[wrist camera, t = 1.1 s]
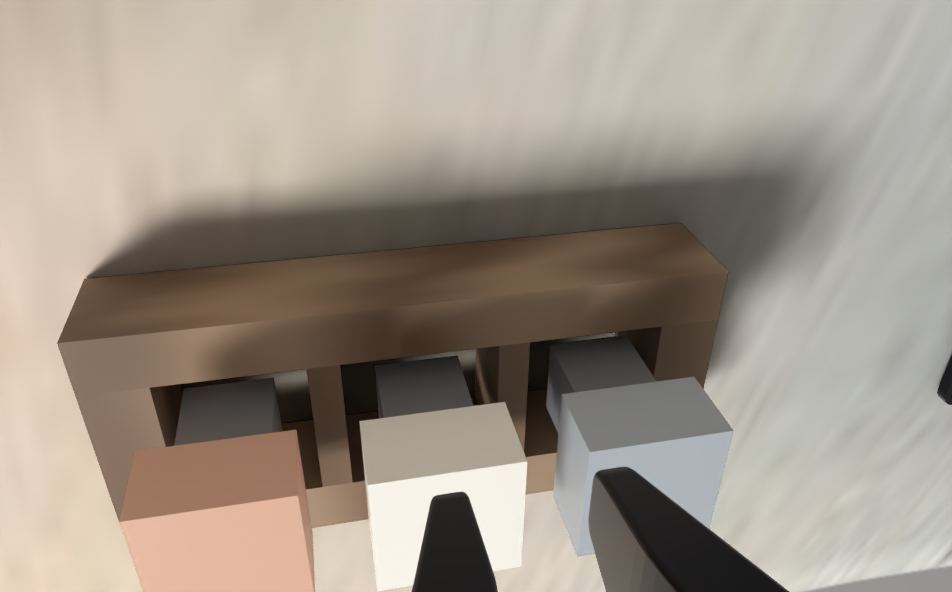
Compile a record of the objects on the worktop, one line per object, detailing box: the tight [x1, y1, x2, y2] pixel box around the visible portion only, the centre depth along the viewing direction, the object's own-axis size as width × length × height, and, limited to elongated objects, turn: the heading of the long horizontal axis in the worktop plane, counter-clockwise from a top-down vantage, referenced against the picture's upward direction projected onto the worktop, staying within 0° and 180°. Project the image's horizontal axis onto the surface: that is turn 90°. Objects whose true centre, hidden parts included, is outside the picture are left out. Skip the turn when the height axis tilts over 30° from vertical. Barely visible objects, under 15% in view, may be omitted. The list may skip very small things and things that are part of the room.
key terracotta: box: [119, 378, 315, 592], centre depth 18 cm, size 3×3×5 cm
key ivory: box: [359, 356, 527, 591], centre depth 19 cm, size 3×3×5 cm
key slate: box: [546, 335, 733, 557], centre depth 20 cm, size 3×3×5 cm
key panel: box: [57, 223, 728, 528], centre depth 21 cm, size 16×7×3 cm, turn 89°
